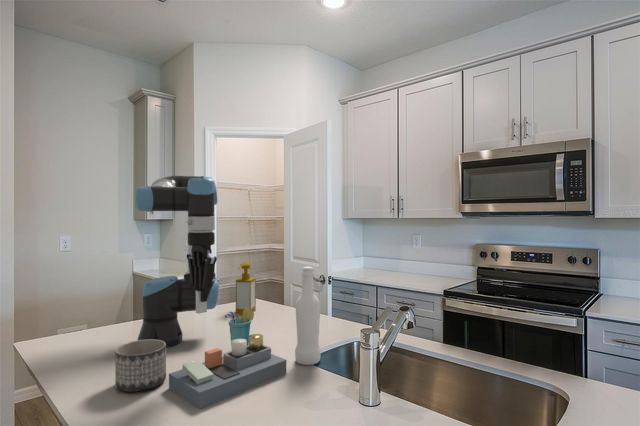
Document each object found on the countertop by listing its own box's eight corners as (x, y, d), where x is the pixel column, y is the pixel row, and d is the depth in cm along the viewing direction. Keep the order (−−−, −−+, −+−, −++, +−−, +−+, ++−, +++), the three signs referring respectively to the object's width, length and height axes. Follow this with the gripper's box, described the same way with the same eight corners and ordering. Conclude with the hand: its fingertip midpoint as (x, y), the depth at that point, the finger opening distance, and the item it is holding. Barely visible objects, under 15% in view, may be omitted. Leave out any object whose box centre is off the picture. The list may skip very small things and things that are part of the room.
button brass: (245, 347, 115) (245, 336, 115) (257, 344, 118) (257, 333, 118) (254, 351, 112) (254, 339, 112) (265, 347, 115) (265, 336, 115)
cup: (235, 362, 121) (235, 314, 121) (215, 358, 125) (215, 312, 124) (259, 347, 134) (259, 305, 134) (241, 344, 137) (241, 302, 137)
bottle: (301, 368, 117) (301, 269, 117) (291, 358, 124) (291, 266, 124) (325, 363, 121) (325, 267, 121) (313, 354, 128) (313, 264, 128)
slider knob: (204, 365, 107) (204, 351, 107) (217, 361, 110) (217, 347, 110) (209, 368, 105) (209, 353, 105) (222, 364, 108) (222, 349, 108)
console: (168, 388, 103) (168, 363, 103) (253, 359, 124) (253, 338, 124) (199, 409, 93) (199, 381, 92) (286, 373, 113) (286, 350, 113)
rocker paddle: (182, 369, 102) (182, 364, 102) (197, 364, 105) (198, 359, 105) (197, 384, 97) (198, 379, 96) (212, 378, 100) (213, 373, 100)
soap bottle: (231, 316, 174) (231, 264, 174) (241, 309, 186) (241, 261, 186) (246, 317, 172) (246, 265, 172) (255, 310, 185) (255, 261, 185)
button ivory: (228, 353, 110) (228, 341, 110) (240, 349, 113) (240, 337, 113) (237, 357, 107) (237, 344, 107) (249, 353, 110) (249, 340, 110)
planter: (130, 374, 112) (130, 338, 112) (173, 375, 112) (173, 339, 112) (105, 395, 100) (105, 355, 100) (153, 395, 99) (153, 355, 99)
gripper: (178, 231, 114) (178, 310, 114) (201, 232, 105) (201, 319, 105) (201, 230, 119) (201, 306, 119) (225, 231, 110) (225, 313, 110)
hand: (201, 312), depth 112 cm, fingers closed
